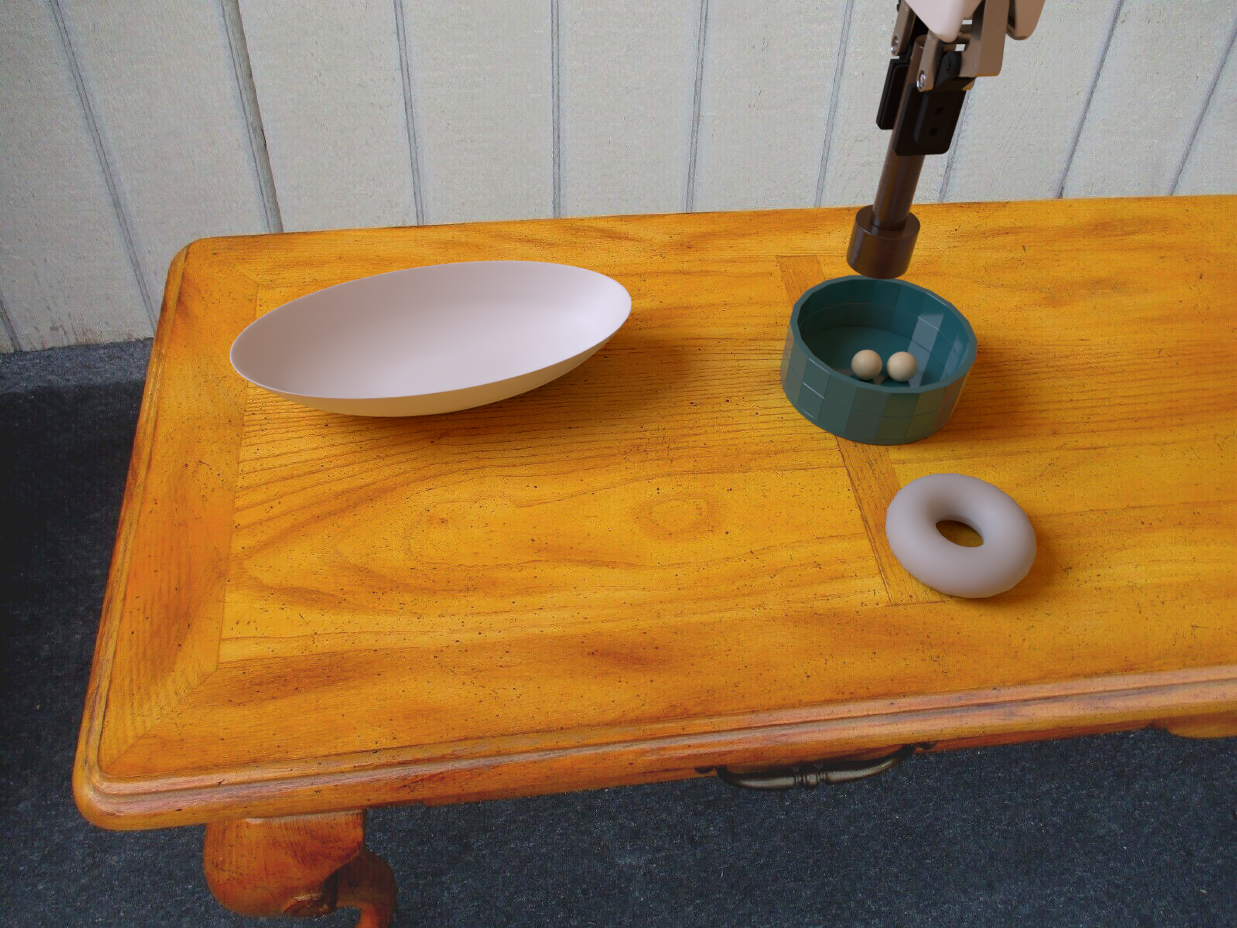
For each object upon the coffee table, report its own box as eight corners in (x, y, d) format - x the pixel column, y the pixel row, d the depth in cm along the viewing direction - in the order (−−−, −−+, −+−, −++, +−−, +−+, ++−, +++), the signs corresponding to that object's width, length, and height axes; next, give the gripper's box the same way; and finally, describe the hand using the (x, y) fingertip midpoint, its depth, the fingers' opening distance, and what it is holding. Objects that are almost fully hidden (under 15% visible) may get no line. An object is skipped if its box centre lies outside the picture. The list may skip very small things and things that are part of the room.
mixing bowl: (992, 395, 77) (1015, 342, 73) (874, 473, 71) (892, 420, 67) (860, 306, 84) (874, 254, 80) (743, 370, 78) (752, 317, 74)
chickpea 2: (922, 382, 76) (924, 357, 75) (895, 390, 76) (896, 365, 74) (907, 368, 78) (908, 343, 77) (880, 376, 78) (881, 350, 76)
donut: (850, 527, 67) (950, 631, 61) (860, 495, 65) (965, 600, 59) (954, 477, 71) (1058, 571, 65) (967, 444, 68) (1077, 538, 62)
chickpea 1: (879, 363, 78) (892, 356, 75) (866, 387, 77) (878, 382, 75) (855, 347, 78) (866, 341, 75) (841, 372, 77) (853, 366, 75)
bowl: (603, 300, 84) (605, 241, 79) (653, 415, 74) (658, 356, 70) (249, 353, 78) (229, 293, 73) (253, 487, 68) (230, 426, 64)
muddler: (921, 266, 61) (989, 46, 51) (879, 287, 59) (941, 65, 49) (874, 236, 63) (931, 21, 53) (832, 257, 61) (882, 38, 51)
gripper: (1193, -206, 37) (1029, 212, 50) (1021, -287, 47) (924, 75, 61) (1008, -206, 36) (892, 219, 49) (876, -288, 47) (810, 79, 60)
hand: (911, 137), depth 55 cm, fingers closed on muddler, 2 cm apart
